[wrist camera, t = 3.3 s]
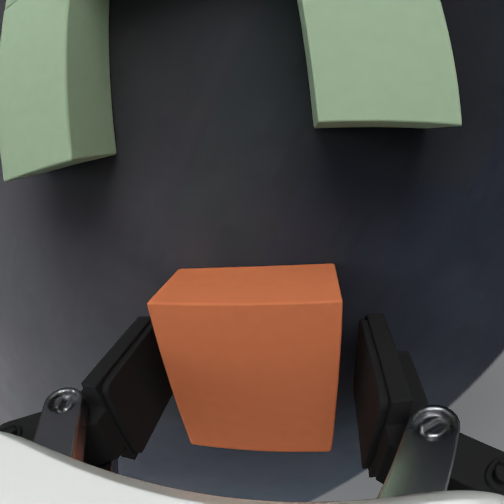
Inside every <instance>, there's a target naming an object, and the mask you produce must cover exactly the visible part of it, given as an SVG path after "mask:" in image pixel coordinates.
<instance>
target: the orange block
mask: <svg viewBox="0 0 504 504" xmlns="http://www.w3.org/2000/svg"><path fill="white" fill-rule="evenodd" d="M147 305H148V309H149V313H150V317H151V321H152V325H153V328H154V332H155V336H156V339H157V343H158V346H159V350H160V353H161V356H162V360H163V363H164V366H165V369H166V373H167V376H168V379H169V382H170V385H171V388H172V391H173V394H174V397H175V400H176V403H177V406H178V409H179V412H180V414H181V417H182V420H183V423H184V426H185V428H186V431H187V434H188V436H189V439H190V441H191V444H195V445H202V446H210V447H219V448H229V449H240V450H255V451H277V452H322V451H331V448H332V440H333V432H334V423H335V414H336V404H337V393H338V381H339V368H340V352H341V334H342V308H343V301H342V296H341V292H340V287H339V282H338V278H337V273H336V269H335V265H334V264H333V263H332V264H308V265H282V266H255V267H225V268H192V269H178V271H177V272H176V273H175V274H174V275H173V276H172V277H171V278H170V279H169V280H168V281H167V282H166V283H165V284H164V285H163V287H162V288H161V289H160V290H159V291H158V292H157V293H156V294H155V295H154V296H153V297H152V298H151V299H150V301H149V302H148V303H147Z"/></svg>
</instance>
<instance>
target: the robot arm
mask: <svg viewBox="0 0 504 504" xmlns="http://www.w3.org/2000/svg"><path fill="white" fill-rule="evenodd" d="M81 384H82V386H83V390H82V391H81V392H80V391H79V390H77V389H75V388H67V387H66V388H62V389H59V390H56V391H54V392H53V393H51V394H50V395H49V396H48V397H47V398H46V400H45V402H44V405H43V409H42V412H39V413H36V414H33V415H29V416H26V417H23V418H19V419H16V420H12V421H9V422H7V423H4V424H2V425H1V426H0V504H504V452H503V451H501V450H498V449H496V448H493V447H491V446H489V445H486V444H484V443H482V442H480V441H477V440H475V439H473V438H471V437H468V436H466V435H464V434H462V433H460V421H459V419H458V417H457V415H456V414H455V413H454V412H453V411H452V410H450V409H448V408H447V407H444V406H440V405H429V404H428V401H427V399H426V396H425V393H424V390H423V388H422V385H421V382H420V380H419V377H418V375H417V372H416V369H415V367H414V364H413V362H412V359H411V357H410V355H409V353H408V352H407V351H400V352H397V350H396V347H395V344H394V342H393V339H392V336H391V334H390V331H389V329H388V326H387V323H386V321H385V318H384V316H383V314H376V315H366V316H365V320H360V321H359V332H358V344H357V355H356V365H355V374H354V397H355V405H356V413H357V422H358V430H359V440H360V450H361V461H362V468H363V469H367V468H368V470H369V477H376V480H377V481H379V482H381V483H382V484H383V487H382V489H381V491H380V493H379V495H378V497H377V499H367V500H355V501H336V502H276V501H260V500H248V499H238V498H229V497H221V496H214V495H207V494H201V493H195V492H190V491H184V490H179V489H174V488H170V487H165V486H161V485H156V484H152V483H148V482H144V481H141V480H137V479H133V478H130V477H126V476H123V475H120V474H118V458H119V456H120V455H121V456H122V457H126V458H130V459H133V460H135V458H136V456H137V455H138V453H141V452H142V451H143V450H144V448H145V446H146V444H147V442H148V440H149V438H150V436H151V434H152V433H153V431H154V429H155V427H156V425H157V423H158V421H159V419H160V417H161V415H162V413H163V411H164V409H165V407H166V405H167V403H168V401H169V399H170V397H171V396H172V394H173V391H172V388H171V385H170V382H169V379H168V376H167V373H166V369H165V366H164V363H163V360H162V356H161V353H160V350H159V346H158V343H157V339H156V336H155V332H154V328H153V325H152V321H151V317H138V318H137V319H136V321H135V322H134V323H133V324H132V325H131V326H130V327H129V328H128V330H127V331H126V332H125V333H124V334H123V335H122V336H121V338H120V339H119V340H118V341H117V342H116V343H115V344H114V346H113V347H112V348H111V349H110V350H109V351H108V353H107V354H106V355H105V356H104V357H103V358H102V360H101V361H100V362H99V363H98V364H97V365H96V367H95V368H94V369H93V370H92V371H91V372H90V374H89V375H88V376H87V377H86V378H85V380H84V381H83V382H82V383H81Z"/></svg>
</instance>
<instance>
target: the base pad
mask: <svg viewBox="0 0 504 504" xmlns="http://www.w3.org/2000/svg"><path fill="white" fill-rule="evenodd" d="M297 2H298V8H299V14H300V20H301V27H302V33H303V40H304V47H305V54H306V62H307V70H308V78H309V86H310V95H311V105H312V114H313V125H314V128H337V127H402V128H438V127H452V126H461V125H462V119H461V108H460V99H459V91H458V83H457V76H456V70H455V64H454V58H453V53H452V48H451V43H450V38H449V33H448V29H447V25H446V21H445V17H444V13H443V9H442V5H441V2H440V0H297ZM0 151H1V161H2V169H3V177H4V181H5V182H8V181H12V180H16V179H20V178H24V177H28V176H32V175H37V174H41V173H46V172H50V171H53V170H57V169H61V168H64V167H68V166H72V165H75V164H79V163H83V162H87V161H91V160H95V159H100V158H104V157H108V156H113V155H115V154H116V145H115V136H114V126H113V115H112V102H111V87H110V67H109V0H6V5H5V12H4V17H3V24H2V32H1V41H0Z"/></svg>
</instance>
